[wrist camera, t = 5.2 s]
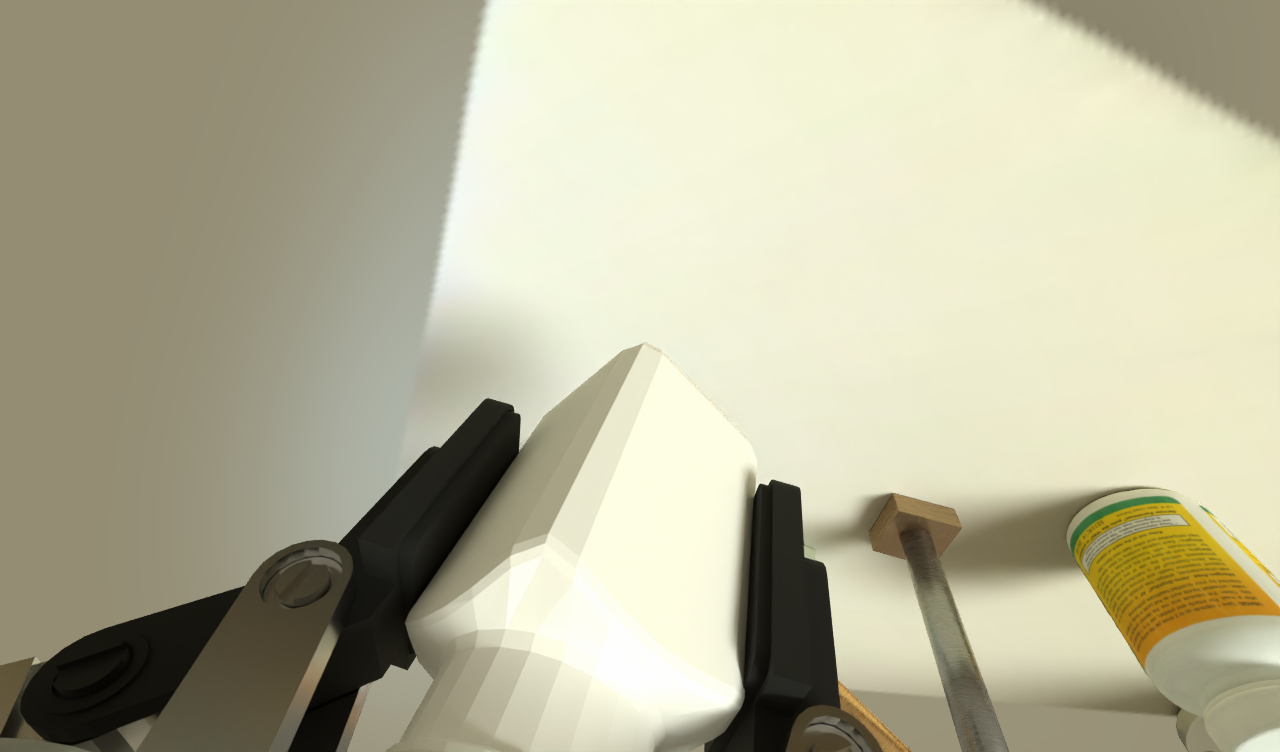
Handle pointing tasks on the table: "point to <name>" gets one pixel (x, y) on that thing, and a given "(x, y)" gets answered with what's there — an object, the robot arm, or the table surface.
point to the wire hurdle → (933, 624)
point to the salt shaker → (597, 580)
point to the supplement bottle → (1189, 609)
